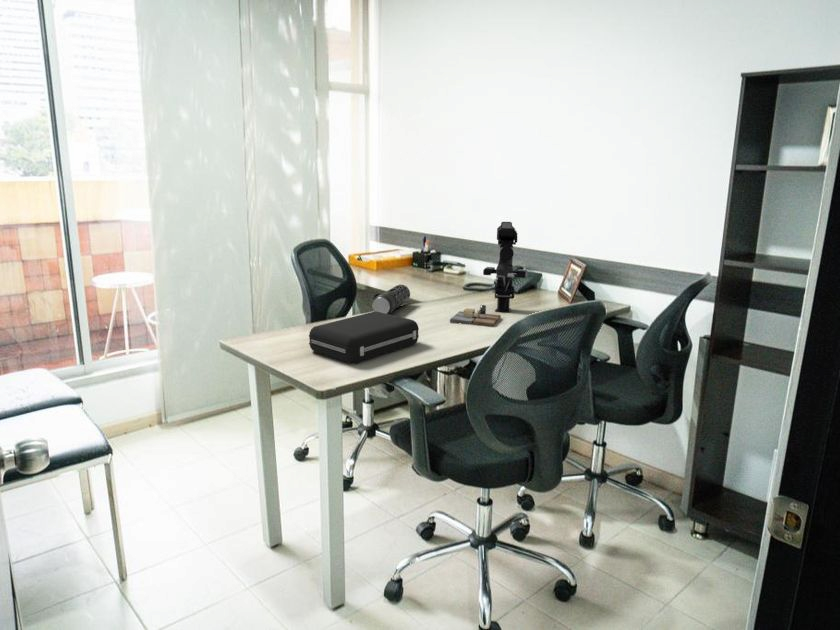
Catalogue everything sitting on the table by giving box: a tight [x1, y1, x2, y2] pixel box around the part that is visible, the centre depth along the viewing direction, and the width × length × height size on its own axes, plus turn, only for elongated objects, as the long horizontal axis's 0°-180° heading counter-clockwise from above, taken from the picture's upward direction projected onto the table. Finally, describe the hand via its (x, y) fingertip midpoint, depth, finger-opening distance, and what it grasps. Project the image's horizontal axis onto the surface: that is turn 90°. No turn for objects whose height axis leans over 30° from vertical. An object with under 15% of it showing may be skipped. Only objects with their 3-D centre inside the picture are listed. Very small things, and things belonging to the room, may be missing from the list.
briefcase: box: [308, 310, 420, 364], centre depth 234 cm, size 36×32×10 cm
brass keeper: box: [463, 307, 480, 319], centre depth 273 cm, size 4×7×3 cm, turn 70°
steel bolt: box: [473, 304, 487, 318], centre depth 272 cm, size 2×8×5 cm, turn 71°
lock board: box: [449, 310, 502, 328], centre depth 273 cm, size 15×19×2 cm
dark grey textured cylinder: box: [372, 284, 411, 315], centre depth 287 cm, size 10×28×10 cm, turn 163°
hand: (504, 291), depth 275 cm, fingers closed
